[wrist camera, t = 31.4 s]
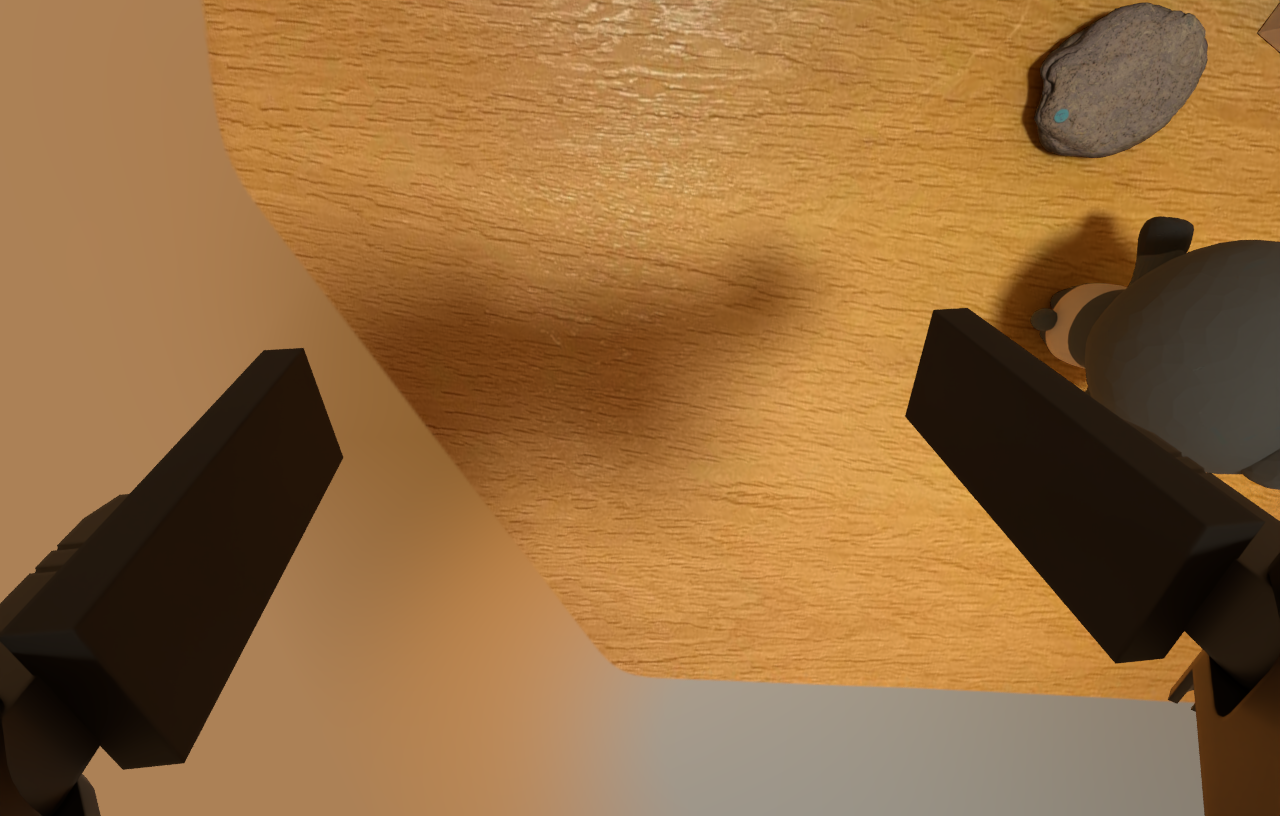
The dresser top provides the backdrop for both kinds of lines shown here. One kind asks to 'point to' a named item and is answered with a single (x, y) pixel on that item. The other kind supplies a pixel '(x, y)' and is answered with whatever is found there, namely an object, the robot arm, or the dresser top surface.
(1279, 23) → the plaque
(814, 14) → the dresser top surface
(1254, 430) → the toy
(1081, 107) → the stone
